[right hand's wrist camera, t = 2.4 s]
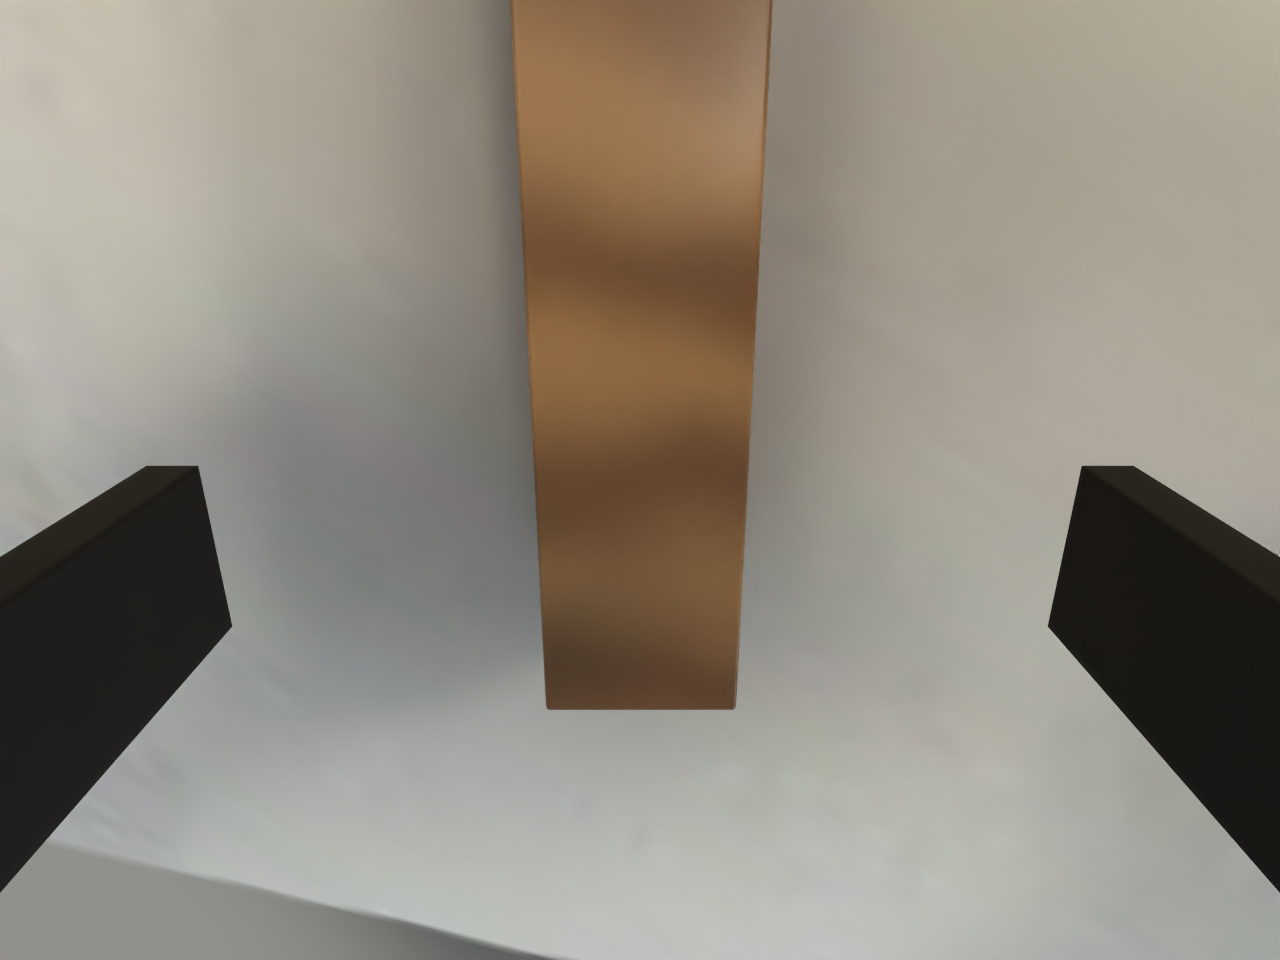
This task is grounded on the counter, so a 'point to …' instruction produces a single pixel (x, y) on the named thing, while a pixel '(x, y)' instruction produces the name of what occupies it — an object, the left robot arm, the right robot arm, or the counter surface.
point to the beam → (641, 335)
